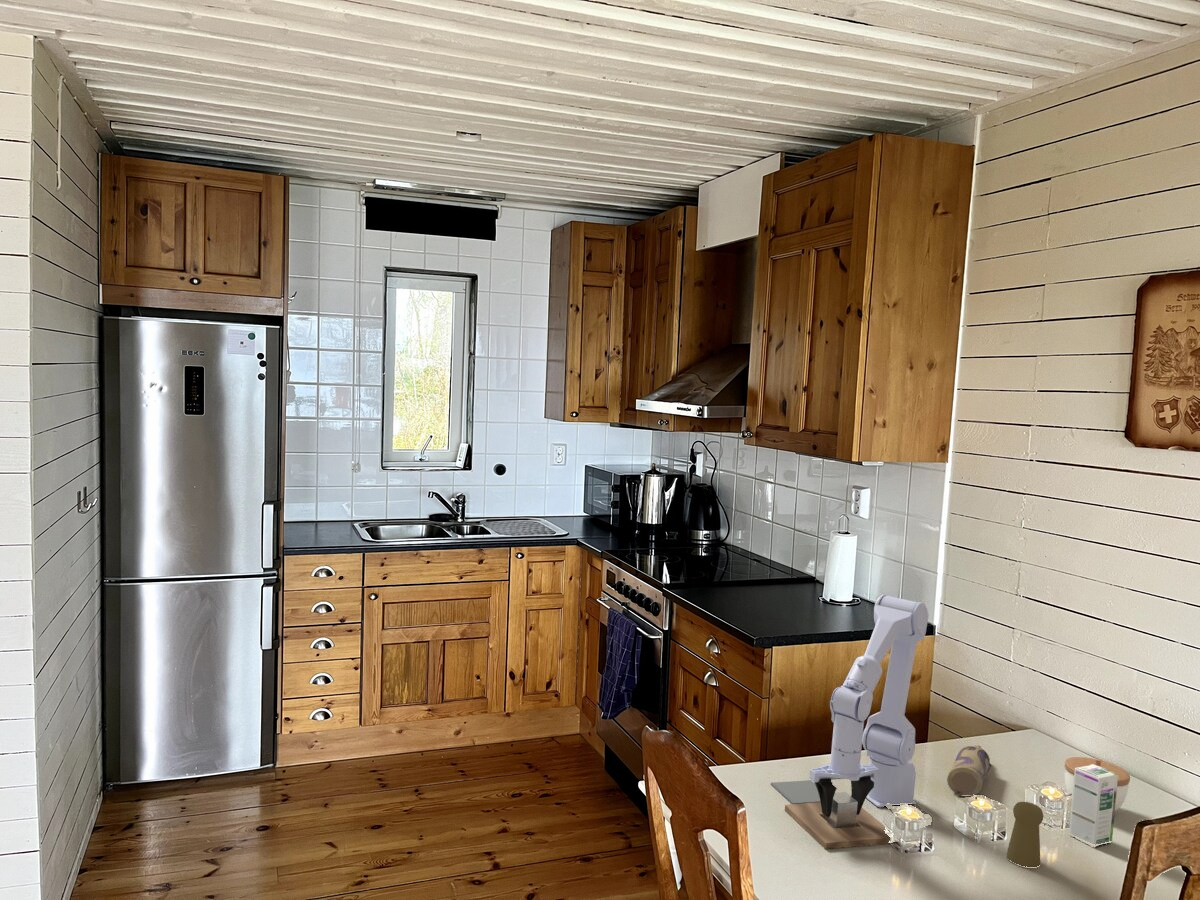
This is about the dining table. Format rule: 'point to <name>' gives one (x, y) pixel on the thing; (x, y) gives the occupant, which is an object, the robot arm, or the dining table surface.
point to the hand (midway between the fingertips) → (840, 813)
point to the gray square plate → (798, 791)
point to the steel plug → (843, 811)
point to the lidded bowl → (1083, 761)
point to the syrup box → (1093, 804)
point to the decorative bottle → (969, 771)
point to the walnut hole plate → (828, 836)
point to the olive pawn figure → (1025, 835)
